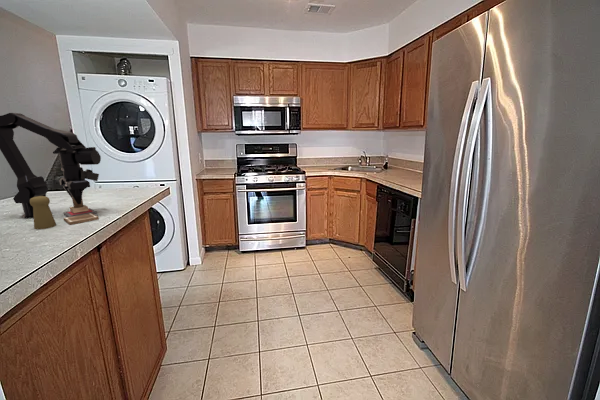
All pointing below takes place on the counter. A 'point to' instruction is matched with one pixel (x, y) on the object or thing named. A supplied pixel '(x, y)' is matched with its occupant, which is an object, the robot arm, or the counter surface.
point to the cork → (42, 213)
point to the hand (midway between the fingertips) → (78, 203)
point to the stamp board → (81, 218)
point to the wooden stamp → (78, 207)
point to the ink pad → (70, 214)
